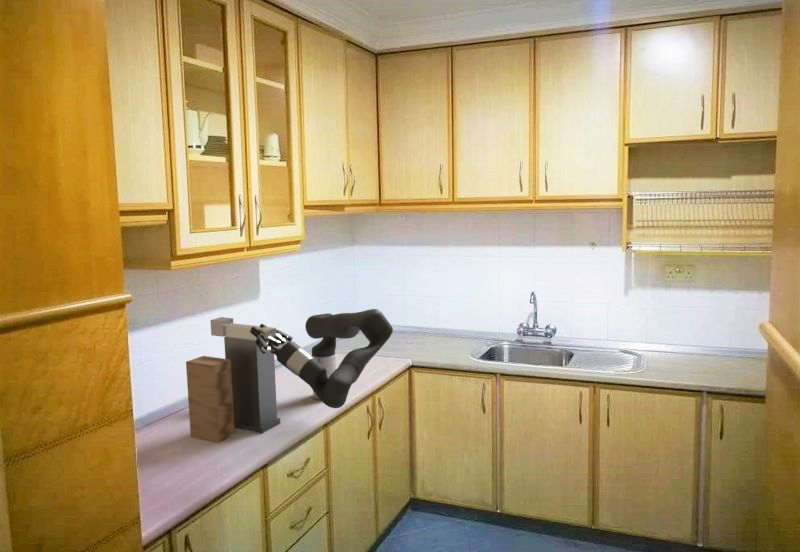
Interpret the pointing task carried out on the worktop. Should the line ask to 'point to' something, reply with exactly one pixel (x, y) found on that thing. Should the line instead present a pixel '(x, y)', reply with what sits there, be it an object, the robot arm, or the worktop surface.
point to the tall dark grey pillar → (252, 385)
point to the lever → (237, 329)
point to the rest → (210, 398)
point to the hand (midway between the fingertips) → (256, 327)
